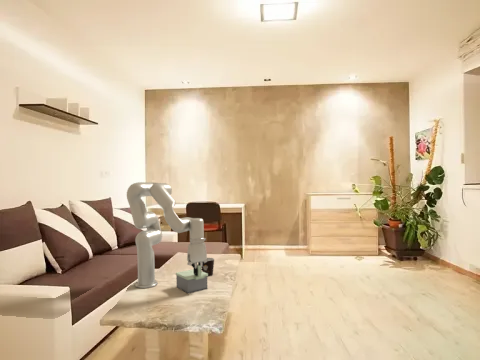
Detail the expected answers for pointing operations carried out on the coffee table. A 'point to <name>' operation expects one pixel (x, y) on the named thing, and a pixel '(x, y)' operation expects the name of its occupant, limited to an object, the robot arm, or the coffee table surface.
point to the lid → (192, 274)
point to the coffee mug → (208, 266)
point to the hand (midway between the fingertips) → (197, 274)
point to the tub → (191, 284)
